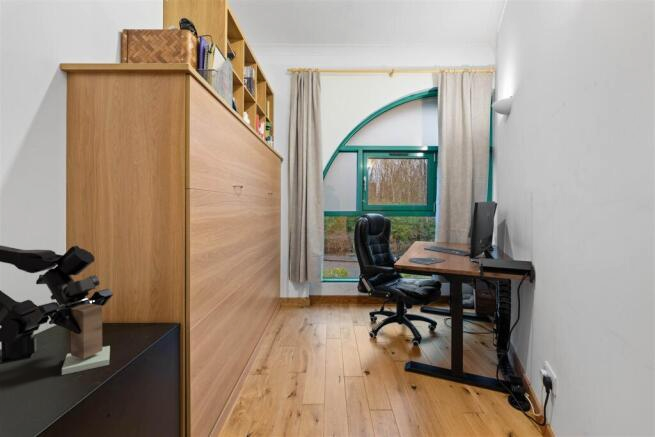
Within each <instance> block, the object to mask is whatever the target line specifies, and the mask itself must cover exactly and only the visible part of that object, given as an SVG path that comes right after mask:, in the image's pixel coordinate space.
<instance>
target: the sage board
mask: <svg viewBox="0 0 655 437" xmlns="http://www.w3.org/2000/svg"><path fill="white" fill-rule="evenodd" d="M110 354H111V346H110V345H107V346H102V351H100V352H98V353H96V354H93V355H91V356H89V357H86V358H84V359H83V358H80V357H76V356H72V355H71V352H70V353H67V354H66V356H65V360H64V361H63V365H62V367H61V375H62V376H63V375H69V374H73V373H78V372H82V371H87V370H91V369H95V368H96V369H97V368H100V367H105V366H108V365H109V366H110Z"/></svg>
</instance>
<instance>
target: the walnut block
mask: <svg viewBox="0 0 655 437" xmlns="http://www.w3.org/2000/svg"><path fill="white" fill-rule="evenodd" d="M71 314H72V316H73V318H74V319H75V321H76V322H77V324H78V325H79V327H80V329H81V333H80V334H76V333H74V332H72V331H70V353H71V355H72V356H76V357H80V358H83V359H84V358H86V357H89V356H91V355H93V354H96V353H98V352H100V351H102V347H103V306H101V305H95V304H86V305H82V306H79V307H75V308H72V309H71Z"/></svg>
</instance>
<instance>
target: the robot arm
mask: <svg viewBox="0 0 655 437" xmlns="http://www.w3.org/2000/svg"><path fill="white" fill-rule="evenodd" d="M94 262H95V256H94V255H93V253H92V252H90V251H88V250H87V249H84V248H80V247H79V246H78V245H73V246H71V247H69V248H68V250H67V251H66V252H65V253H64V254H57V253H56V252H55V251H53V250H51V249H20V248H15V247H11V246H7V245H6V246H5V245H0V263H3V264H4V263H5V264H9V265H13V266H14V267H15V268H17V269H18V270H20V271H24V272H25V273H29V274H35V273H39V272H44V271H46V272H45V273H42V274H39V276H38V278H37V279H36V281H35V284H36V285H46V287H47V288H48V289H49V292H50V293H51V295H50V297H49V298H50V299H51V301H52V302H49V303H43V304H40V305H37V304H35V302H33V301H32V300H30V299H27V300H23V301H21V302H20V301H17V300H14V299H13V298H12V297H10V296H9V295H8V294H7V293H5V292H3V291H2V290H1V289H0V344H1V345H0V348H1V359H0V364H7V363H11V362H17V361H22V360H27V359H30V358H32V357H33V355H34V354H35V353H36V351H37V336H34V332H35V331H36V332H37V331H38V330H39V329H40V326H41V325H44V324H47V323H48V324H49V325H56V326H58V327H61V328H65V329H67V330H68V331H70V332H71V331H72V332H74V333H76V334H80V333H81V329H80V327H79V325H78V324H77V322H76V321H75V319H74V318H73V316H72V314H71V309H72V308H75V307H79V306H82V305H86V304H95V305H101V306H102V307H104V306H106V304H107V303H108V302H109V300H111V299H112V297H113V296H114V293H113V291H112V290H111V289H109V288H104V289H101V290H97V291H94V293H93V294H92V296H91V297H88V295H89V294H90V291H91V290H95V289H96V287H98V286H100V279H99V278H98V276H97V275H96V274H95V275H89V276H88V277H86V278H84V279H80V280H76V281H75V280H74V278H73V277H72V276H78V275H80V274H81V273H82V272H84V271H85V270H86V269H87V268H88V267H89V266H90V265H92V264H93V263H94ZM86 297H88V298H86ZM53 300H55V301H56V302H55V301H53ZM49 319H50V320H49ZM48 321H49V322H48Z"/></svg>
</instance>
